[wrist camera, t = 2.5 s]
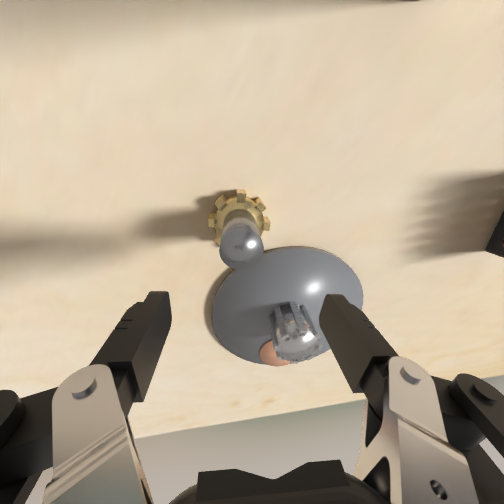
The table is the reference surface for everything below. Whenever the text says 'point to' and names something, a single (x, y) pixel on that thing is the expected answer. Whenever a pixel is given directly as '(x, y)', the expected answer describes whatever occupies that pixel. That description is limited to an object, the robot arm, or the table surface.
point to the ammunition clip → (497, 239)
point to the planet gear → (239, 230)
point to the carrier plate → (281, 305)
